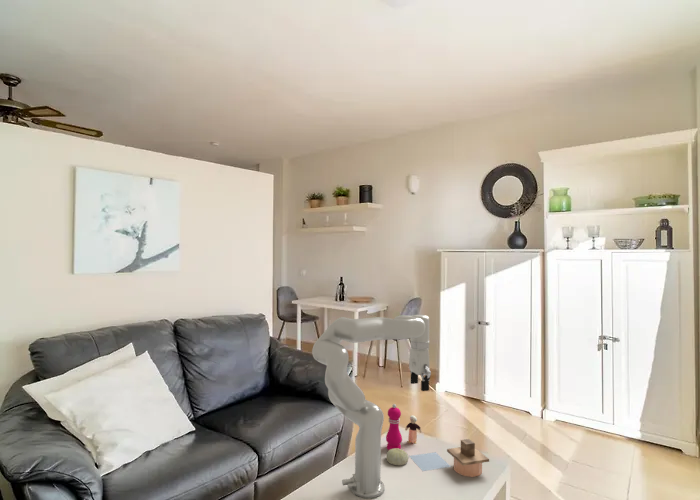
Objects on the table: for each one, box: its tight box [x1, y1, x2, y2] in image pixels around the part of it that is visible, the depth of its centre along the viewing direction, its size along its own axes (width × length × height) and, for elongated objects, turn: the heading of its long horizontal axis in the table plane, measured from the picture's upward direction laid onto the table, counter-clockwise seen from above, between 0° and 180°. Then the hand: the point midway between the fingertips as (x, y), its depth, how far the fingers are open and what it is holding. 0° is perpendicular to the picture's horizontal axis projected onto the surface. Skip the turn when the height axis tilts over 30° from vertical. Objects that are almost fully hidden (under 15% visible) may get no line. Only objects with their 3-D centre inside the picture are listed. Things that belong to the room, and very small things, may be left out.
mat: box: [408, 451, 452, 472], centre depth 169 cm, size 13×13×1 cm
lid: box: [446, 438, 490, 465], centre depth 163 cm, size 12×12×6 cm
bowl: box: [453, 457, 483, 478], centre depth 163 cm, size 11×11×6 cm
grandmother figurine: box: [404, 415, 422, 445], centre depth 187 cm, size 8×4×13 cm, turn 81°
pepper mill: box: [385, 403, 403, 451], centre depth 181 cm, size 7×7×20 cm
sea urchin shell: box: [385, 448, 410, 466], centre depth 170 cm, size 9×8×8 cm
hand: (419, 386), depth 165 cm, fingers open, 9 cm apart
